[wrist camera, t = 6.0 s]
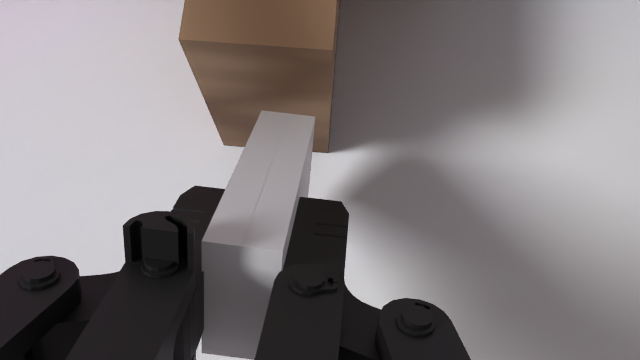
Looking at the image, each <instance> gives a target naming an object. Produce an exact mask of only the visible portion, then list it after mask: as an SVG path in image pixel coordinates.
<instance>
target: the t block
mask: <svg viewBox="0 0 640 360" xmlns="http://www.w3.org/2000/svg"><path fill="white" fill-rule="evenodd" d="M339 4H340V0H185V3H184V9H183V15H182V22H181V28H180V34H179V41H180V44H181V46H182V48H183V51H184V53H185V55H186V58H187V60H188V62H189V65H190V67H191V69H192V72H193V74H194V76H195V79H196V81H197V83H198V86H199V88H200V90H201V93H202V95H203V97H204V100H205V102H206V104H207V107H208V109H209V111H210V114H211V116H212V118H213V121H214V123H215V125H216V128H217V130H218V132H219V135H220V137H221V139H222V142H223V144H224V145H228V146H242V147H245V146H246V144H247V141H248V139H249V137H250V135H251V133H252V130H253V128H254V126H255V124H256V122H257V120H258V117H259V115H260V113H261V111H262V110H263V111H272V112H280V113H289V114H298V115H307V116H315V126H314V137H313V148H312V152H324V153H328V148H329V135H330V122H331V109H332V96H333V83H334V70H335V57H336V44H337V30H338V17H339Z"/></svg>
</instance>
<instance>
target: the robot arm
mask: <svg viewBox="0 0 640 360" xmlns="http://www.w3.org/2000/svg"><path fill="white" fill-rule="evenodd" d="M314 126H315V116H307V115H298V114H289V113H280V112H272V111H263V110H262V111H261V113H260V115H259V117H258V120H257V122H256V124H255V126H254V128H253V130H252V133H251V135H250V137H249V139H248V141H247V144H246V146H245V148H244V150H243V152H242V154H241V157H240V159H239V161H238V163H237V165H236V167H235V170H234V172H233V174H232V176H231V178H230V180H229V183H228V185H227V187H226V189H218V188H210V187H201V186H194V187H192V188H191V189H189V190H188V191H186V192H185V193H183V194H182V195H180V197H179V198H178V200H177V202H176V204H175V205H174V207H173V210H171V212H169V211H154V212H149V213H143V214H140V215H138V216H135V217H133V218H131V219H130V220H128V221H127V222H126V223H125V224H124V225H123V235H124V248H125V264H124V266H123V267H122V269H121V270H120V271H119V272H115V273H110V274H103V275H92V276H79V269H78V268H77V266H76V265H75V263H74V262H72V261H70V260H68V259H66V258H63V257H56V256H42V257H35V258H31V259H28V260H24V261H21V262H19V263H18V264H16V265H14V266H12V267H10V268H9V269H7V270H6V271H5V272H3V273H2V274H1V275H0V360H196V349H197V347H198V344H199V341H200V339H201V336H202V353H207V354H215V355H222V356H230V357H238V358H246V359H254V360H471V359H470V357H469V355H468V353H467V351H466V349H465V347H464V345H463V343H462V341H461V339H460V337H459V335H458V333H457V331H456V329H455V327H454V325H453V323H452V321H451V320H450V319H449V317H448V316H447V315H446V313H445V312H444V311H442V310H441V309H439V308H438V307H436V306H435V305H433V304H431V303H428V302H425V301H422V300H420V299H409V298H404V299H398V300H393V301H391V302H389V303H388V304H386V305H384V306H383V308H382V310H381V309H378V308H375V307H372V306H370V305H368V304H366V303H363V302H361V301H360V300H358V299H357V298H356V297H354V296H353V295H352V294H351V293H350V292H349V291H348V289H347V287H346V285H345V282H344V269H345V257H346V245H347V232H348V220H349V213H348V211H347V210H346V208H345V207H344V205H343V204H342V202H340V201H332V200H323V199H315V198H308V191H309V180H310V170H311V159H312V148H313V137H314Z"/></svg>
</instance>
